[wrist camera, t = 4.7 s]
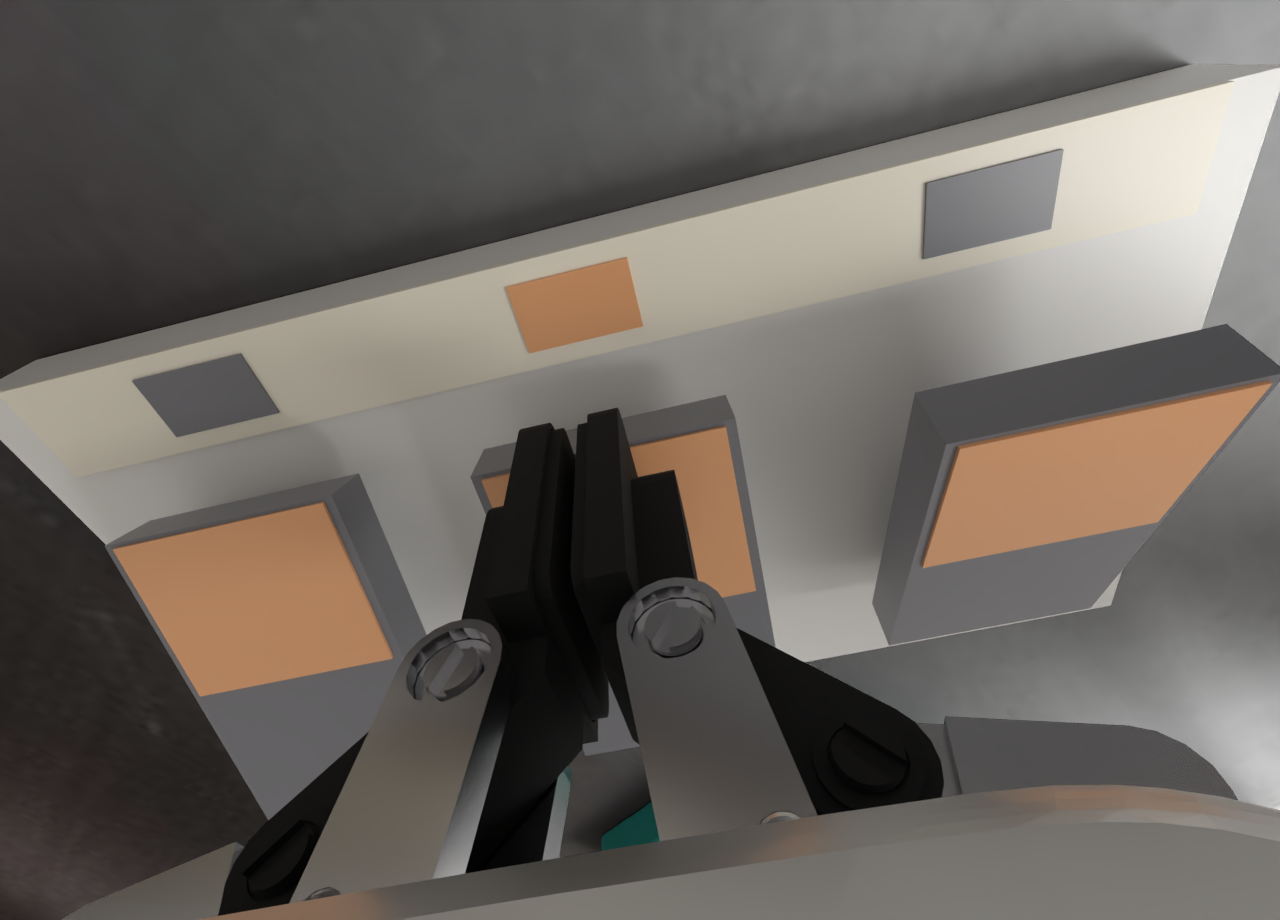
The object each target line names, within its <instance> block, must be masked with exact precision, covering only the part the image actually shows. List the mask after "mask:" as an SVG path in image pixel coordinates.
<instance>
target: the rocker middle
mask: <svg viewBox="0 0 1280 920" xmlns="http://www.w3.org/2000/svg"><path fill="white" fill-rule="evenodd" d="M622 421H623V424H624V428H625V432H626V435H627V439H628V443H629V446H630V450H631V454H632V457H633V461H634V464H635V468H636V472H637V475H638V477H641V476H646V475H650V474H655V473H660V472H664V471H669V470H675V474H676V478H677V482H678V487H679V491H680V496H681V500H682V504H683V509H684V513H685V518H686V523H687V527H688V532H689V537H690V542H691V547H692V552H693V557H694V562H695V567H696V573H697V578H698V581H701V582H704V583H706V584H708V585H709V586H711V587H712V588H713V589H715V590H716V591H718V593H719V594H720V596H721V597H722V599H723V600H724V602H725V603H726V605H727V608H728V610H729V612H730V614H731V617H732V619H733V621H734V624H735V626H736V628H738V629H740V630H742V631H744V632H746V633H748V634H750V635H752V636H754V637H756V638H758V639H760V640H762V641H764V642H766V643H768V644H770V645H771V646H773V647H775V641H774V635H773V629H772V624H771V618H770V612H769V607H768V601H767V595H766V589H765V584H764V578H763V572H762V567H761V561H760V555H759V549H758V544H757V538H756V532H755V527H754V521H753V515H752V509H751V504H750V498H749V492H748V487H747V481H746V475H745V470H744V464H743V458H742V452H741V447H740V441H739V435H738V430H737V424H736V418H735V416H734V413H733V411H732V409H731V406H730V404H729V402H728V399H727V397H726V395H722V396H718V397H713V398H709V399H704V400H700V401H695V402H691V403H686V404H682V405H678V406H673V407H669V408H664V409H660V410H655V411H651V412H647V413H642V414H638V415H633V416H629V417H624V418H622ZM566 433H567V435H568V438H569V441H570V444H571V447H572V450H573V453H574V456H575V459H576V443H577V428H576V429H571V430H567V431H566ZM515 447H516V442H514V443H509V444H505V445H500V446H496V447H491V448H487V449H484V450H483V452H482V454H481V456H480V458H479V460H478V462H477V464H476V466H475V468H474V470H473V473H472V475H471V477H470V478H471V480H472V482H473V485H474V487H475V490H476V492H477V495H478V497H479V499H480V502H481V504H482V507H483V509H484V511H485V514H486V515H487V512H488V511H489V510H490V509H491V508H495V507H500V506H503V505H504V500H505V496H506V491H507V486H508V481H509V476H510V471H511V466H512V461H513V456H514V452H515ZM775 648H776V647H775ZM634 747H640V745H639V744H638V743H636V742H635V741H634V740H633V739H632V737H631V734H630V732H629V729H628V727H627V725H626V722H625V720H624V717H623V715H622V712H621V710H620V708H619V705H618V703H617V700H616V698H615V695H614V693H613V691H612V688H611V686H610V683H609V715H608V717H607V718H602V719H598V741H597V742H592V743H586V744H583V751H584V753H585V756H589V755H595V754H600V753H606V752H611V751H617V750H623V749H628V748H634Z"/></svg>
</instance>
